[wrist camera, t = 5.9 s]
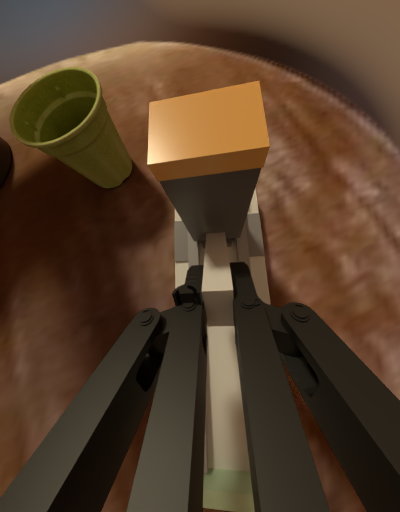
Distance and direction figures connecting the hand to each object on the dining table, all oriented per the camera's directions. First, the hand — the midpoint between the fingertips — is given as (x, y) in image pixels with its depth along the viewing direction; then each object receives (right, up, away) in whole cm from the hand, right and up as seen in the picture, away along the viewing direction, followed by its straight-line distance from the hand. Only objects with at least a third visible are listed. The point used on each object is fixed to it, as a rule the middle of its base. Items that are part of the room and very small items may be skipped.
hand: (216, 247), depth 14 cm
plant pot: (-14, +12, +10) cm, 21 cm away
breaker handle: (0, +2, +3) cm, 4 cm away
